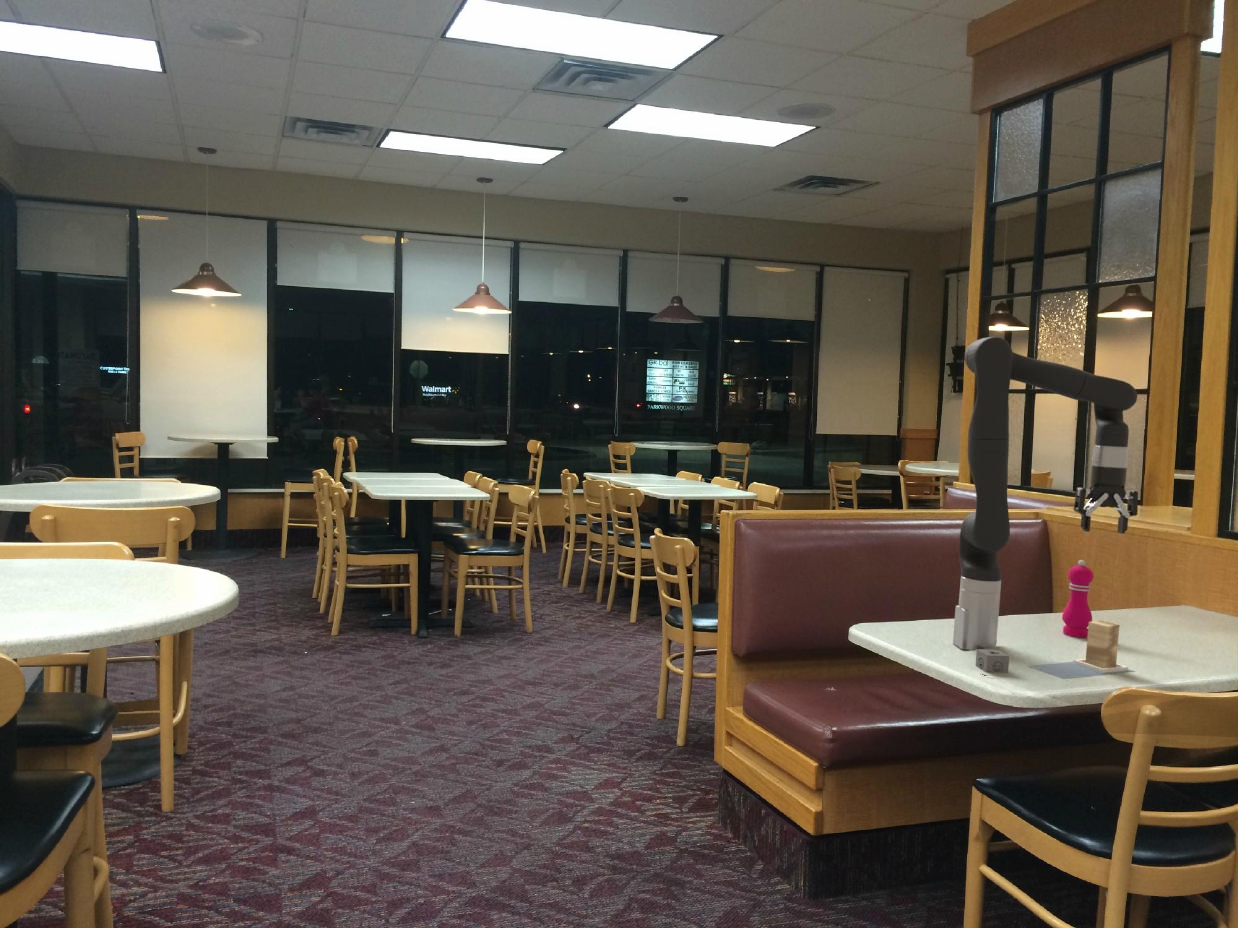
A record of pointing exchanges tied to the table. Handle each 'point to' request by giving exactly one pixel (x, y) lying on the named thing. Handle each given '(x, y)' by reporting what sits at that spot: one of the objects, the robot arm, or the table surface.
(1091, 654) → the wooden pillar
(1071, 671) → the building board
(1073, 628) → the pepper mill
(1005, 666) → the dice cube
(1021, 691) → the table surface
